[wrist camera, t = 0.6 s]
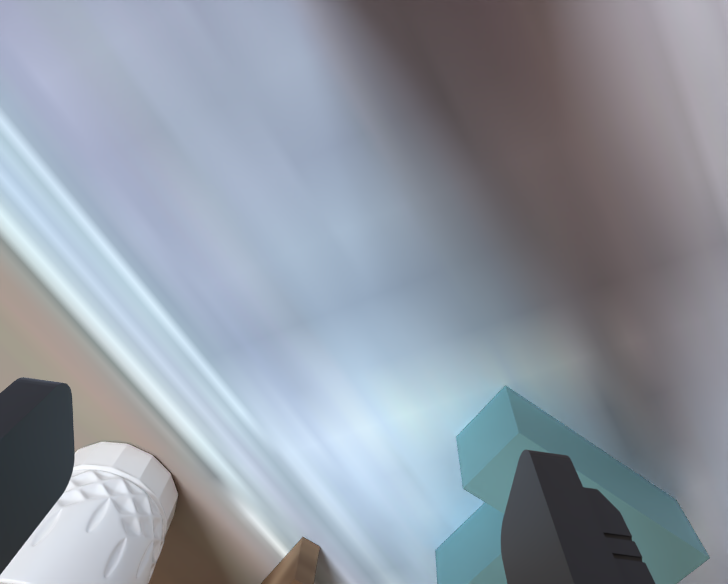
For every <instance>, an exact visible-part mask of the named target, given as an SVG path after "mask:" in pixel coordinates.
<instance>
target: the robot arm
mask: <svg viewBox="0 0 728 584" xmlns="http://www.w3.org/2000/svg"><path fill="white" fill-rule="evenodd" d="M74 460H75V453H74V431H73V408H72V393H71V389H70V387H69V386H68V385H67V384H65V383H59V382H52V381H45V380H38V379H31V378H24V377H23V378H19V379H17V380H16V381H14V382H13V383H12V384H11V385H10V386H8V387H7V388H6V389H5V390H4V391H2V392H1V393H0V575H1V573H2V572H3V571H4V570H5V568H6V567H7V566H8V564H9V563H10V562H11V560H12V559H13V558H14V557H15V555H16V554H17V553H18V551H19V550H20V549H21V548H22V546H23V545H24V544H25V542H26V541H27V540H28V538H29V537H30V536H31V535H32V533H33V532H34V531H35V529H36V528H37V527H38V526H39V524H40V523H41V522H42V520H43V519H44V518H45V516H46V515H47V514H48V513H49V511H50V510H51V509H52V507H53V506H54V505H55V504H56V502H57V501H58V500H59V498H60V497H61V496H62V494H63V493H64V491H65V490H66V488H67V486H68V484H69V481H70V479H71V475H72V472H73V467H74ZM501 555H502V561H503V565H504V570H505V575H506V580H507V584H655V582H654V580H653V577H652V575H651V573H650V571H649V569H648V567H647V565H646V563H645V562H642V555H641V553H640V551H639V549H638V547H637V545H636V543H635V541H632V535H631V533H630V531H629V529H628V527H627V525H626V523H625V521H624V519H623V517H622V515H621V513H620V511H619V510H618V509H617V508H616V507H615V506H614V505H613V504H612V503H611V502H610V501H609V500H608V499H607V498H606V497H605V496H604V495H603V494H602V493H601V492H600V491H599V490H598V489H593V488H585V487H583V486H582V483H581V481H580V479H579V476H578V474H577V472H576V470H575V467H574V465H573V463H572V461H571V459H570V457H569V456H567V455H561V454H554V453H547V452H540V451H533V450H523V452H522V453H521V455H520V457H519V461H518V464H517V468H516V472H515V475H514V479H513V483H512V487H511V491H510V494H509V498H508V502H507V506H506V509H505V513H504V517H503V521H502V528H501Z"/></svg>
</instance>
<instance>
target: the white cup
mask: <svg viewBox="0 0 728 584" xmlns="http://www.w3.org/2000/svg"><path fill="white" fill-rule="evenodd" d="M177 499H178V492H177V490H176V487H175V484H174V481H173V478H172V475H171V473H170V472H169V471H168V470H167V469H166V468H165V467H164V466H163V465H162V464H161V463H160V462H159V461H158V460H157V459H156V458H155V457H154V456H153V455H151V454H149V453H147V452H145V451H143V450H141V449H139V448H136V447H134V446H132V445H130V444H126V443H114V442H99V443H96V444H93V445H90V446H87V447H84V448H81V449H78V450H77V451H76V452H75V460H74V467H73V472H72V475H71V479H70V481H69V484H68V486H67V488H66V490H65V491H64V493H63V494H62V496H61V497H60V498H59V500H58V501H57V502H56V504H55V505H54V506H53V507H52V509H51V510H50V511H49V513H48V514H47V515H46V516H45V518H44V519H43V520H42V522H41V523H40V524H39V526H38V527H37V528H36V529H35V531H34V532H33V533H32V535H31V536H30V537H29V538H28V540H27V541H26V542H25V544H24V545H23V546H22V548H21V549H20V550H19V551H18V553H17V554H16V555H15V557H14V558H13V559H12V560H11V562H10V563H9V564H8V566H7V567H6V568H5V570H4V571H3V572H2V573H1V575H0V584H148V583H149V581H150V578H151V576H152V573H153V571H154V568H155V565H156V563H157V560H158V558H159V555H160V553H161V550H162V547H163V544H164V538H165V536H166V533H167V531H168V528H169V526H170V524H171V521H172V519H173V517H174V513H175V508H176V504H177Z"/></svg>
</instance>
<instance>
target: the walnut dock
mask: <svg viewBox="0 0 728 584" xmlns="http://www.w3.org/2000/svg"><path fill="white" fill-rule="evenodd" d="M319 548H320V547H319V546H318V545H316V544H314V543H312V542H311V541H309V540H307V539H305V538H304V537H302V539H301V540H300V541H299V542H298V543H297V544H296V545H295V546H294V547H293V549H292V550H291V551H290V552H289V553H288V554H287V555H286V556H285V557H284V559H283V560H282V561H281V562H280V563H279V564H278V565H277V566H276V567H275V569H274V570H273V571H272V572H271V573H270V574H269V575H268V576H267V577H266V579H265V580H264V581H263V582H262V583H261V584H314V579H315V573H316V567H317V561H318V554H319Z"/></svg>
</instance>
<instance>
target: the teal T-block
mask: <svg viewBox="0 0 728 584" xmlns="http://www.w3.org/2000/svg"><path fill="white" fill-rule="evenodd" d="M456 439H457V446H458V454H459V462H460V469H461V477H462V485H463V489H465V490H466V491H468V492H470V493H471V494H473V495H474V496H476V497H478V498H479V499H481V500H482V501H484V502H485V503H484V504H483V505H482V506H481V507H480V508H479V509H478V510H477V511H476V512H475V513H474V514H473V515H472V516H471V517H470V518H468V519H467V520H466V521H465V522H464V523H463V524H462V525H461V526H460V527H459V528H458V529H457V530H456V531H455V532H454V533H453V534H452V535H451V536H450V537H449V538H448V539H447V540H446V541H445V542H444V543H443V544H442V545H441V546H439V547H438V548H437V549H436V550H435V552H436V568H437V584H507V580H506V575H505V570H504V565H503V561H502V555H501V528H502V521H503V517H504V513H505V509H506V506H507V502H508V498H509V494H510V491H511V487H512V483H513V479H514V475H515V472H516V468H517V464H518V461H519V457H520V455H521V453H522V452H523V450H533V451H540V452H547V453H554V454H561V455H567V456H569V457H570V459H571V461H572V463H573V465H574V467H575V470H576V472H577V474H578V476H579V479H580V481H581V483H582V486H583V487H585V488H593V489H598V490H599V491H600V492H601V493H602V494H603V495H604V496H605V497H606V498H607V499H608V500H609V501H610V502H611V503H612V504H613V505H614V506H615V507H616V508H617V509H618V510H619V511H620V513H621V515H622V517H623V519H624V521H625V523H626V525H627V527H628V529H629V531H630V533H631V535H632V541H635V543H636V545H637V547H638V549H639V551H640V553H641V555H642V562H645V563H646V565H647V567H648V569H649V571H650V573H651V575H652V577H653V580H654V582H655V584H677V583H678V582H679V581H681V580H682V579H683V578H685V577H686V576H687V575H688V574H690V573H691V572H692V571H694V570H695V569H696V568H698V567H699V566H700V565H702V564H703V563H704V562H705V561H707V560H708V559H709V558H710V557H709V555H708V554H707V552H706V550H705V548H704V547H703V545H702V543H701V542H700V540H699V538H698V536H697V535H696V533H695V531H694V530H693V528H692V526H691V524H690V523H689V521H688V519H687V518H686V516H685V514H684V512H683V511H682V509H681V507H680V506H679V504H678V502H677V500H675V499H674V498H672V497H671V496H669V495H668V494H666V493H665V492H663V491H662V490H660V489H659V488H657V487H656V486H654V485H653V484H652V483H650V482H649V481H647V480H646V479H644V478H643V477H641V476H640V475H638V474H637V473H635V472H634V471H632V470H631V469H629V468H628V467H626V466H625V465H623V464H622V463H620V462H619V461H617V460H616V459H614V458H613V457H611V456H610V455H608V454H607V453H605V452H604V451H602V450H601V449H599V448H598V447H596V446H595V445H593V444H592V443H590V442H589V441H587V440H586V439H584V438H583V437H581V436H580V435H578V434H577V433H575V432H574V431H573V430H571V429H570V428H568V427H567V426H565V425H564V424H562V423H561V422H559V421H558V420H556V419H555V418H553V417H552V416H550V415H549V414H547V413H546V412H544V411H543V410H541V409H540V408H538V407H537V406H535V405H534V404H532V403H531V402H529V401H528V400H526V399H525V398H523V397H522V396H520V395H519V394H517V393H516V392H514V391H513V390H511V389H510V388H508V387H507V386H504V387H503V389H502V390H501V391H500V392H499V393H498V394H497V395H496V396H495V397H494V398H493V399H492V400H491V401H490V402H489V403H488V404H487V405H486V406H485V407H484V408H483V410H482V411H481V412H480V413H479V414H478V415H477V416H476V417H475V418H474V419H473V420H472V421H471V422H470V423H469V424H468V425H467V426H466V427H465V428H464V429H463V431H462V432H461V433H460V434H459V435H458V436H457V437H456Z"/></svg>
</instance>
